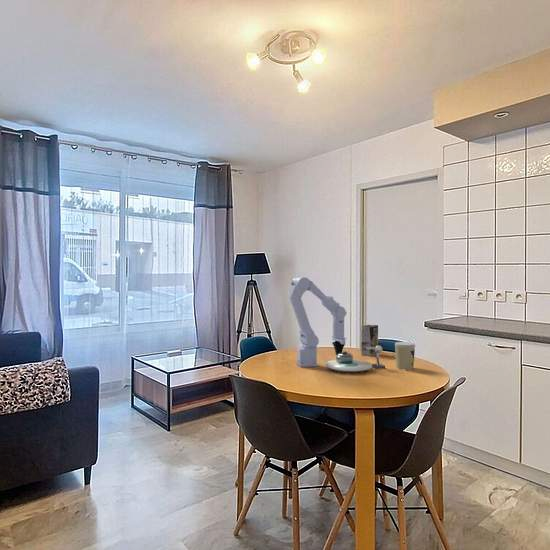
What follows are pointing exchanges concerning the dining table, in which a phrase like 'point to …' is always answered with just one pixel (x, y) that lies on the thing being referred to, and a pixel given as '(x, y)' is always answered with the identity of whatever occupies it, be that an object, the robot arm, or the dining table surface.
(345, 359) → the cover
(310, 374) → the dining table surface
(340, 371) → the turntable base
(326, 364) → the platter
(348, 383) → the dining table surface
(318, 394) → the dining table surface
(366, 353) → the coffee box
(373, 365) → the dial gauge
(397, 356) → the coffee cup
